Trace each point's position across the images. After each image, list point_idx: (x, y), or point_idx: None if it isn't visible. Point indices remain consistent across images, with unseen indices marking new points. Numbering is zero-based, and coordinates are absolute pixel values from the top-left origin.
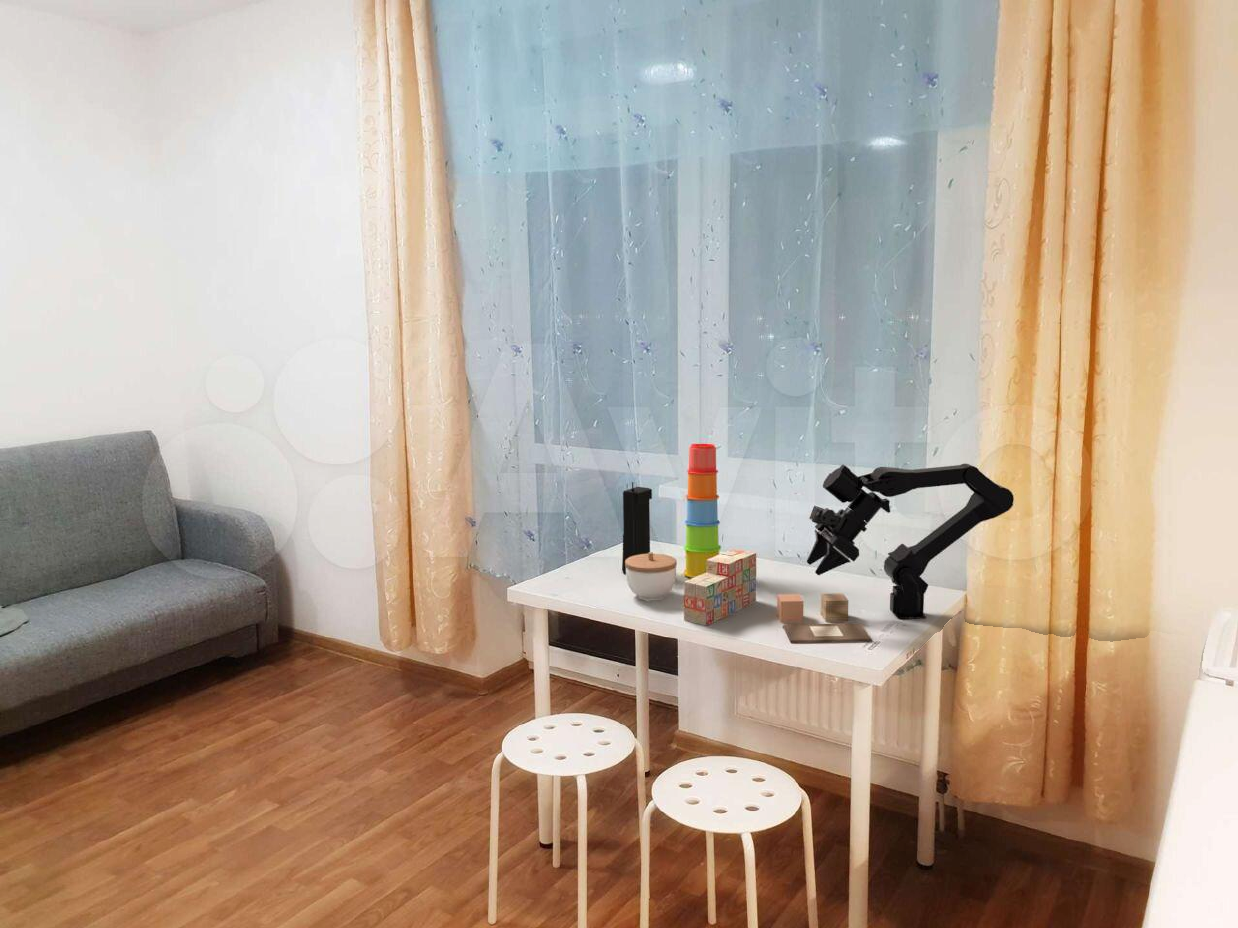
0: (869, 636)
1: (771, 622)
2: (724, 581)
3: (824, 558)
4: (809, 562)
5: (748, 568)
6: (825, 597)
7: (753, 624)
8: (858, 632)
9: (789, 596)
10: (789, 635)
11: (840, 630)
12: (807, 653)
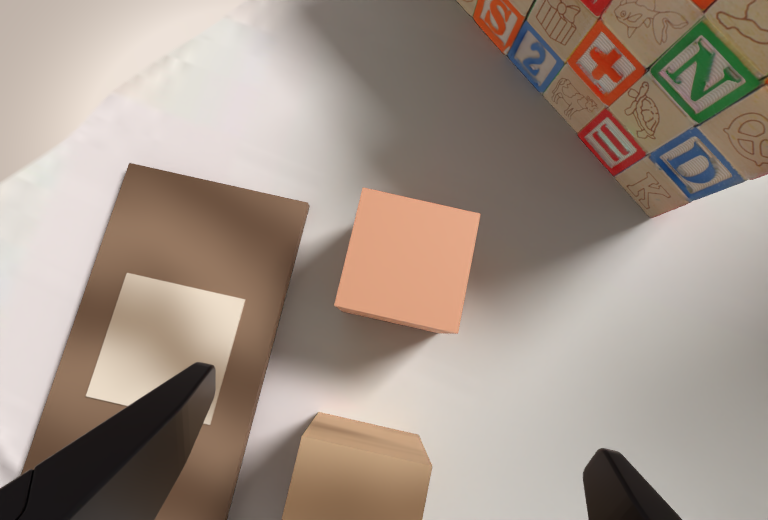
0: None
1: (375, 182)
2: None
3: (10, 498)
4: (595, 473)
5: (752, 70)
6: (359, 460)
7: (372, 108)
8: None
9: (431, 263)
10: (179, 178)
11: None
12: (13, 186)
